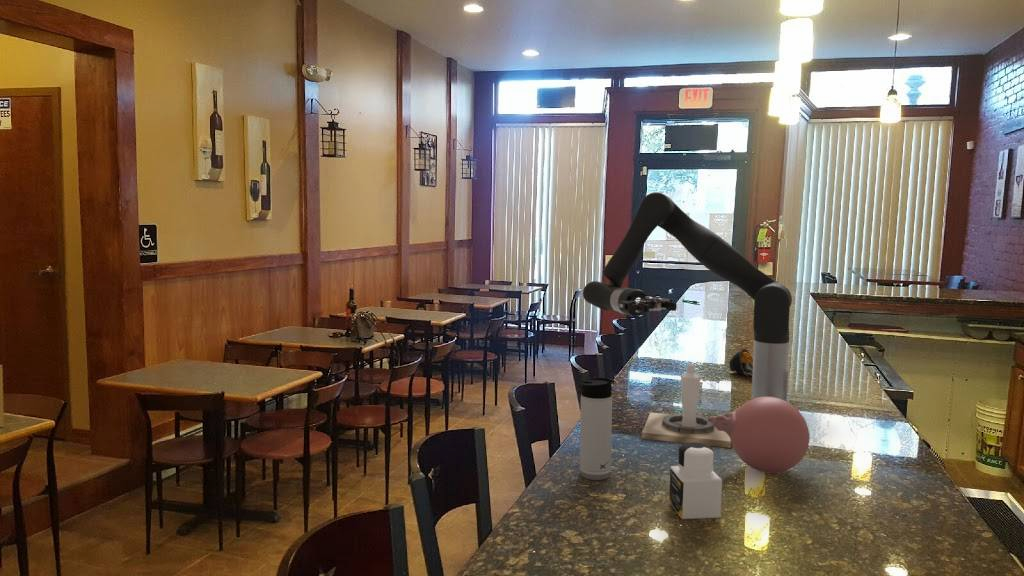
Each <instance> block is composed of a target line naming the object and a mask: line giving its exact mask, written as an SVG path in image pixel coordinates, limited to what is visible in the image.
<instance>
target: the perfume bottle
mask: <svg viewBox="0 0 1024 576" xmlns="http://www.w3.org/2000/svg"><path fill="white" fill-rule="evenodd" d="M695 367H696V364H693V363H687V364H686V372H685V373H682V374H681V375H680V378H681V379H680V384H681V386H680V387H681V406H682V407H681V409H682V410H681V411H682V413H681V414H682V415H683V419H682V422H681V425H682V426H686V427H696V426H697V422H696V415H697V410H698V404H699V403H698V402H699V394H700V385H701V375H700V374H697V373H696V371H695V370H696V368H695Z"/></svg>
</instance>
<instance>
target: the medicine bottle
mask: <svg viewBox="0 0 1024 576" xmlns="http://www.w3.org/2000/svg"><path fill="white" fill-rule="evenodd" d="M714 458H715V450H714V449H713V448H712V446H709V445H705V444H702V443H696V442H691V443H682V444H681V445H680V446H679V448H678V463H677V465H671V466H670V467H669V469H670V470H669V471H670V472H669V473H670V474H669V502H668V503H669V504H670V505H671V507H672V508H673V509H674V510H675V512H676V513H677V514H678V517H680V519H681V520H698V519H699V520H700V519H703V520H704V519H720V518H721V515H722V510H721V509H722V492H723V491H722V490H723V489H722V488H723V487H722V486H723V480H722V478H721V477H720V476H719V475H718V474H717V473H716V472H715V471H714V465H715V464H714V463H715V459H714Z"/></svg>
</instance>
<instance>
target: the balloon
mask: <svg viewBox="0 0 1024 576" xmlns="http://www.w3.org/2000/svg"><path fill="white" fill-rule="evenodd" d="M707 418H708V421H709V422H712V423H713V425H714V426H715V427H716V428H717V429H718V430H719V431H724V432H726V433H727V434H728V436H729V437H730V440H731V445H732V448H733V450H734V452H735V453H736V455H737V457H738V458H739V459H740V460H741V461H742V462H743V463H745V465H747V466H748V467H750V468H752V469H754V470H756V471H759V472H763V473H765V474H766V473H769V474H776V473H777V474H778V473H783V472H786V471H789V470H790V469H792V468H794V467H796V466H797V465H798V464H799V463H800V462H801V461H802V460H803V459H804V457H805V455H806V453H807V452H808V449H809V446H810V431H809V426H808V423H807V421H806V419H805V417H804V416H803V414H802V413H801V412H800V410H798V409H797V407H796V406H794V405H793V404H791V403H790V402H788V401H787V402H786V401H784V400H782V399H779V398H775V397H758V398H754V399H752V398H751V399H750V400H748V401H746V402H744V403H743V404H742V405H740V406H739V407H737V408H735V409H734V410H733V411H729V412H727V413H724V414H718V415H716V416H715V415H713V416H711V415H710V416H708V417H707Z"/></svg>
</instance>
